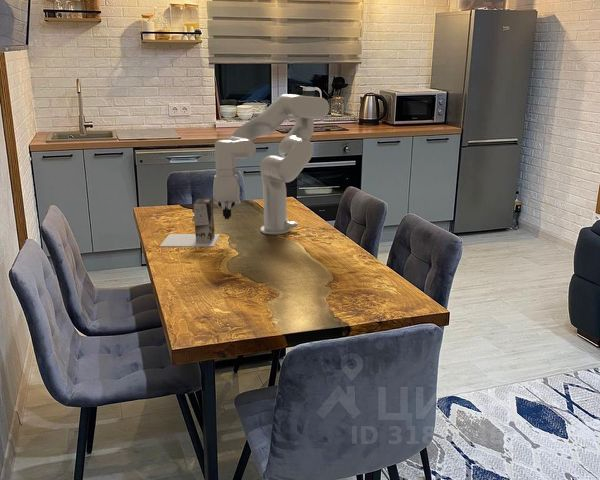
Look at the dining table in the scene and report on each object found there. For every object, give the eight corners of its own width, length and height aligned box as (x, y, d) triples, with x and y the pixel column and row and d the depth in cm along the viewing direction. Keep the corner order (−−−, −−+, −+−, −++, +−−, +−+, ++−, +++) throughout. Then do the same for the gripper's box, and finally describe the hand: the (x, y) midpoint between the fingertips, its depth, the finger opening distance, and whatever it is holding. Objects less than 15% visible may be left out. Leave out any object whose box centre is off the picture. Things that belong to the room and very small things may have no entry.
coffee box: (211, 243, 232) (209, 203, 228) (195, 243, 233) (192, 203, 228) (215, 236, 241) (213, 197, 236) (199, 236, 241) (197, 197, 236)
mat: (220, 234, 244) (220, 234, 244) (213, 246, 229) (213, 246, 229) (169, 234, 245) (169, 234, 245) (159, 246, 230) (159, 245, 230)
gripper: (246, 170, 232) (247, 216, 237) (208, 170, 232) (210, 215, 237) (243, 174, 225) (245, 221, 230) (204, 174, 225) (206, 220, 230)
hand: (227, 218), depth 234 cm, fingers closed
